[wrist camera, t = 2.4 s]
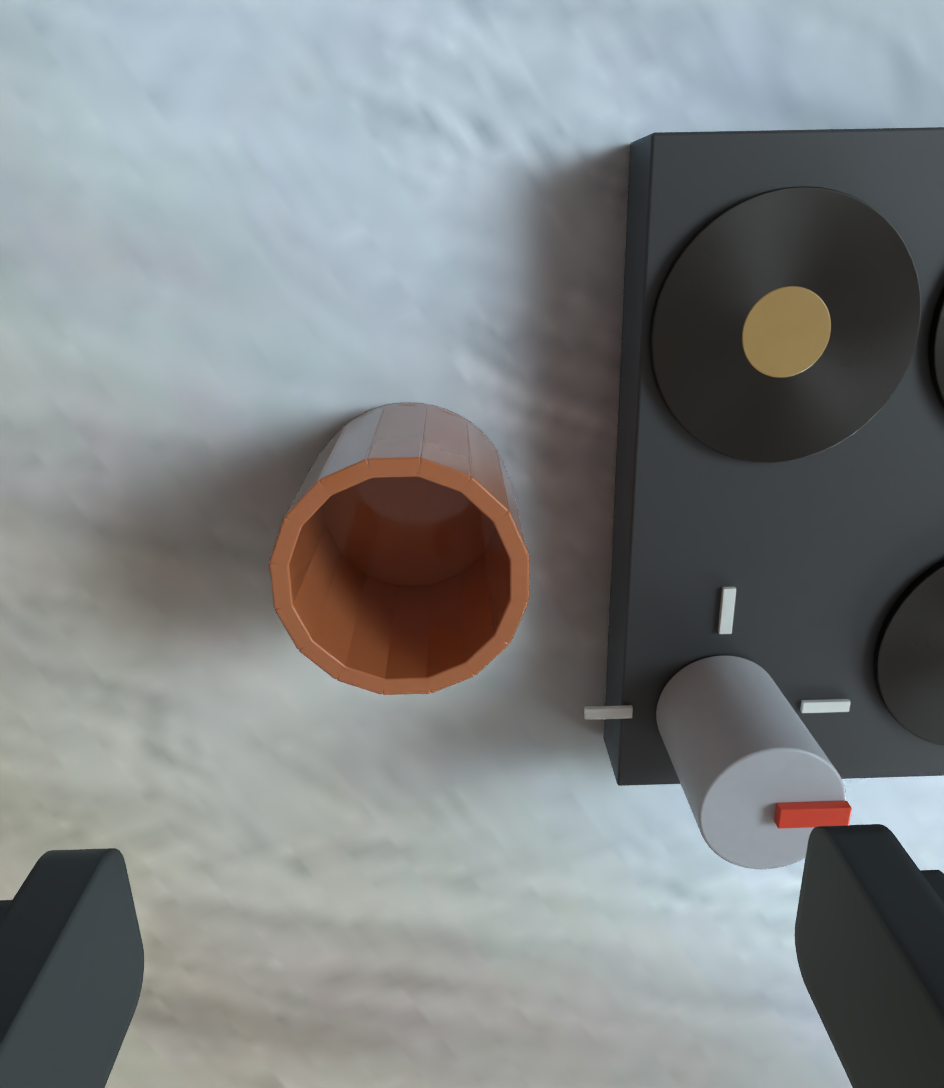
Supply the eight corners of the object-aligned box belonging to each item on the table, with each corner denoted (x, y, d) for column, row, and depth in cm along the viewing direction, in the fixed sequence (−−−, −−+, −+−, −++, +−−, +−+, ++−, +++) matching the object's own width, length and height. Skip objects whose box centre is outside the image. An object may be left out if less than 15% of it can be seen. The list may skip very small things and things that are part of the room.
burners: (625, 753, 25) (627, 759, 25) (657, 189, 20) (660, 188, 19) (1073, 739, 25) (1080, 746, 25) (1231, 178, 20) (1244, 177, 19)
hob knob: (652, 761, 25) (696, 881, 21) (659, 656, 24) (709, 758, 19) (770, 758, 25) (841, 876, 21) (784, 652, 24) (863, 753, 19)
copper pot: (320, 595, 26) (283, 698, 20) (302, 404, 24) (256, 461, 18) (511, 589, 26) (528, 691, 20) (511, 399, 24) (530, 454, 18)
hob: (569, 770, 28) (580, 823, 26) (587, 142, 21) (605, 132, 19) (1011, 756, 29) (1064, 807, 26) (1169, 131, 22) (1262, 120, 19)
